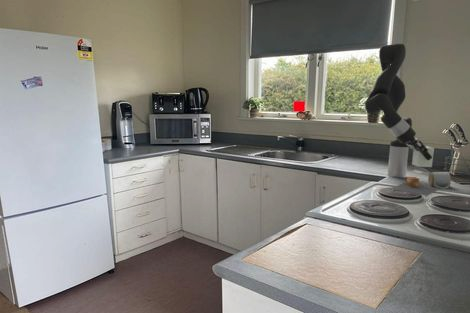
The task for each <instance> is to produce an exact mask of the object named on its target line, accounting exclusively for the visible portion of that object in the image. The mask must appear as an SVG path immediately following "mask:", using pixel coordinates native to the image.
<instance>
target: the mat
mask: <svg viewBox="0 0 470 313" xmlns="http://www.w3.org/2000/svg"><path fill="white" fill-rule="evenodd" d="M406 183H407V182H403V183H401V184H399V185H398V184H397V185H395V186H393V187H389V190H395V191H399V192H405V193H410V194H416V195H420V196H424V197H428V196H430V195H431V194H434V193H435V192H438V191H439V190H441V189H440V188H436V187H435V186H427V185H421V184H419V185H418V187H409V186H408V185H406Z"/></svg>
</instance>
